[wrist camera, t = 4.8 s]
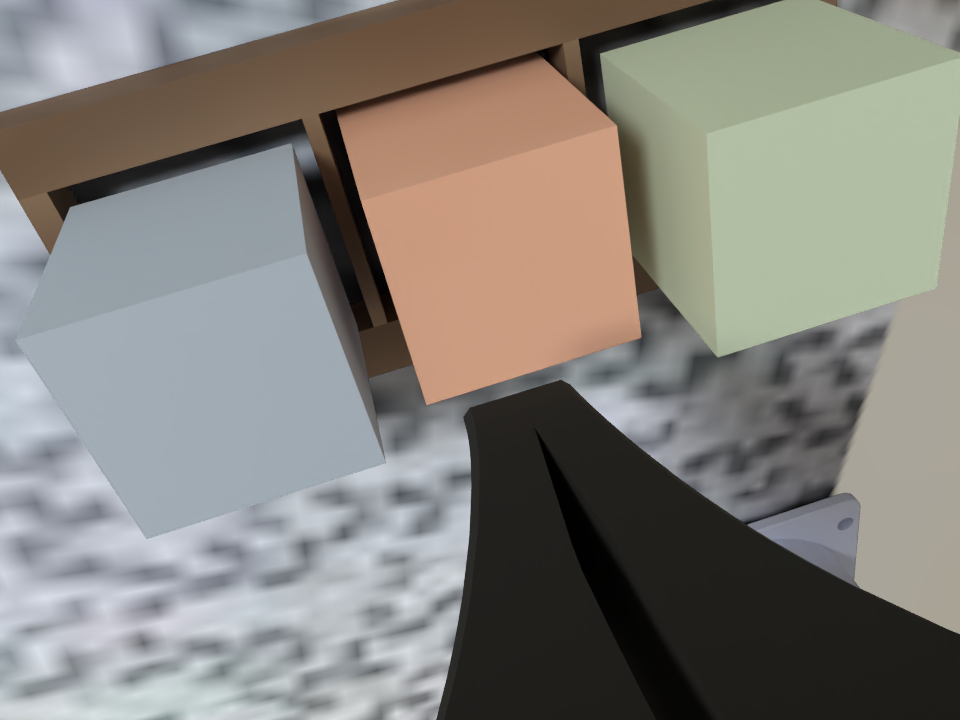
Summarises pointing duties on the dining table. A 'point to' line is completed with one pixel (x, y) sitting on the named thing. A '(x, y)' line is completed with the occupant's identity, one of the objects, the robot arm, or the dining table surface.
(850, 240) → the sage button
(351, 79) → the walnut board
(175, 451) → the light grey cube
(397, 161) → the salmon orange cube
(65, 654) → the dining table surface
